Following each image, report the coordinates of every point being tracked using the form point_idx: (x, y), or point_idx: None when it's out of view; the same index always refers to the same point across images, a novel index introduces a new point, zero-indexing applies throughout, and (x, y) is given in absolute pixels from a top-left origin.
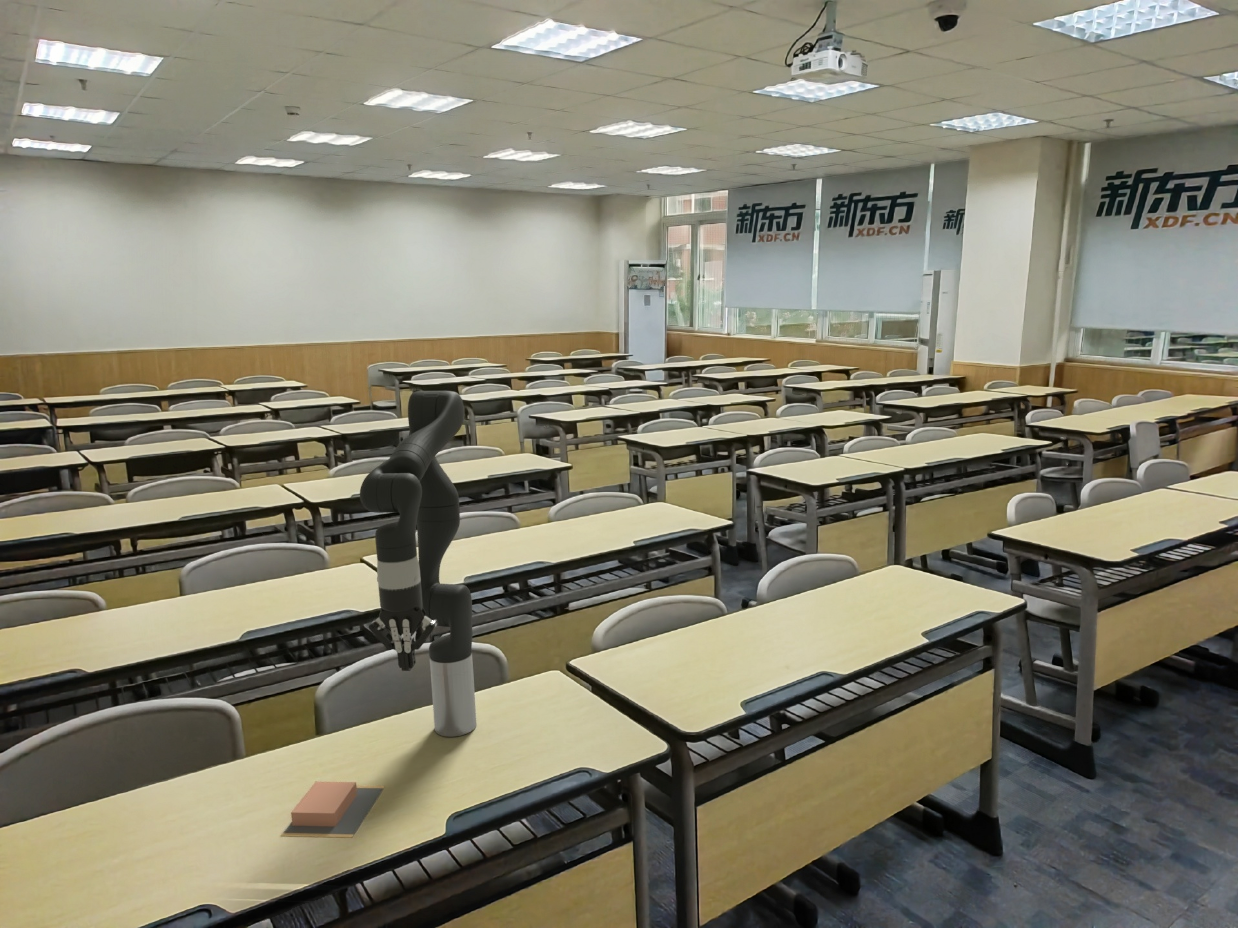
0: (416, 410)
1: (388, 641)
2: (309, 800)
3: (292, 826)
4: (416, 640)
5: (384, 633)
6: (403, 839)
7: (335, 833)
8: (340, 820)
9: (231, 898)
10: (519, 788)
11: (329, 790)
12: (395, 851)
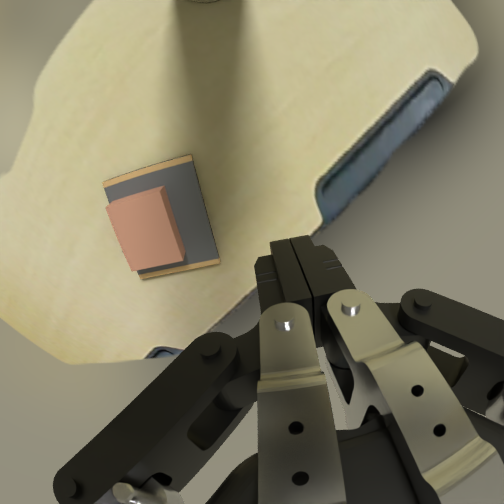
0: None
1: (233, 428)
2: (132, 246)
3: None
4: (403, 337)
5: (188, 461)
6: None
7: (195, 262)
8: (183, 240)
9: (170, 340)
10: (380, 116)
11: (138, 219)
12: None
